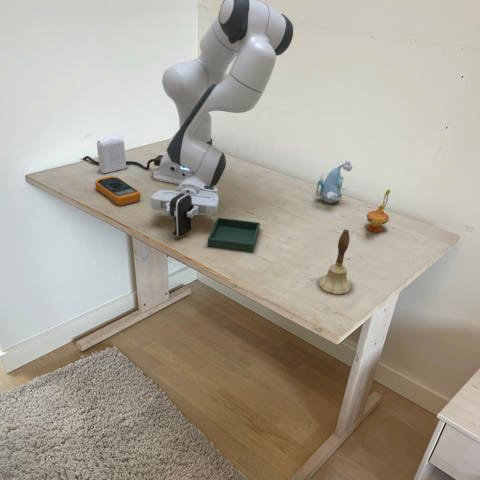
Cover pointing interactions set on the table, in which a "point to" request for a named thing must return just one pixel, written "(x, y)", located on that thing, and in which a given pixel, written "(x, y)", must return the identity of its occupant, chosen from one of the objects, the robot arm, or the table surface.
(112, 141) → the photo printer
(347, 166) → the toy figure
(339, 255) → the hand bell
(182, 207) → the battery charger
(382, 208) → the magic lamp
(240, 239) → the storage box
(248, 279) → the table surface
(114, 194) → the multimeter
